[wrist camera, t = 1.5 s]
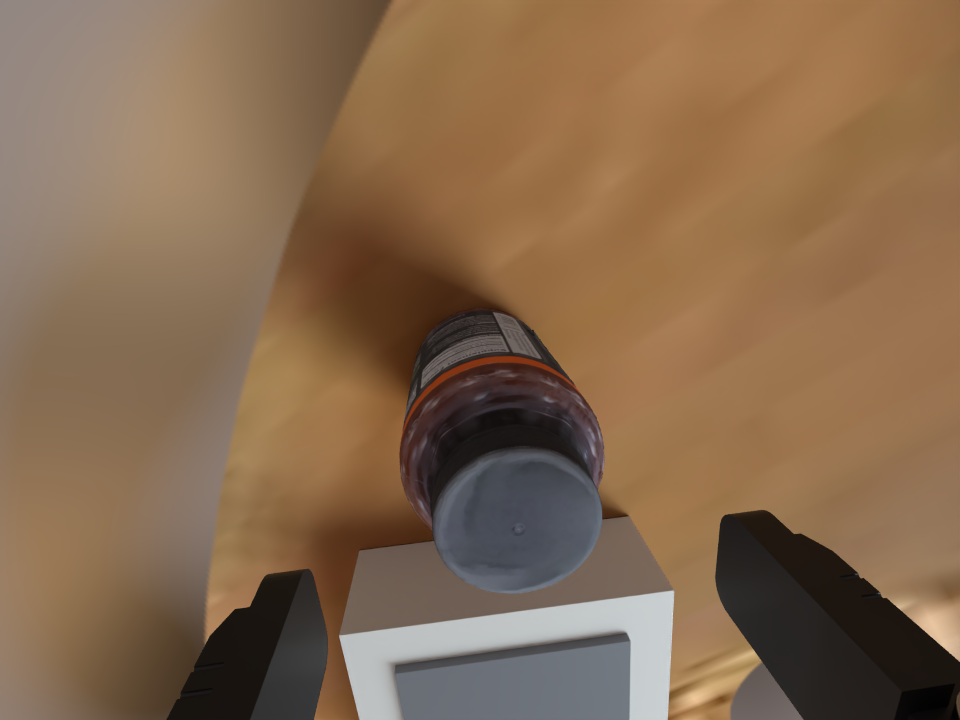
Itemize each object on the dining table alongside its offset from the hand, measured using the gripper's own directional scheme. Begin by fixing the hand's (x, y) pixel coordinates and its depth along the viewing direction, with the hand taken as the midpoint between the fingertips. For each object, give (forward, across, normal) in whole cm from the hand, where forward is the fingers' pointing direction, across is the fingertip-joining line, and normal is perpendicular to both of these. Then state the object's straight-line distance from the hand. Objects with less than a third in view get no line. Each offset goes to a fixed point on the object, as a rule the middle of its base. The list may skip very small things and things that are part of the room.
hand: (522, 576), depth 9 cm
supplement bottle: (+13, 0, 0) cm, 13 cm away
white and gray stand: (+13, 0, +16) cm, 21 cm away
